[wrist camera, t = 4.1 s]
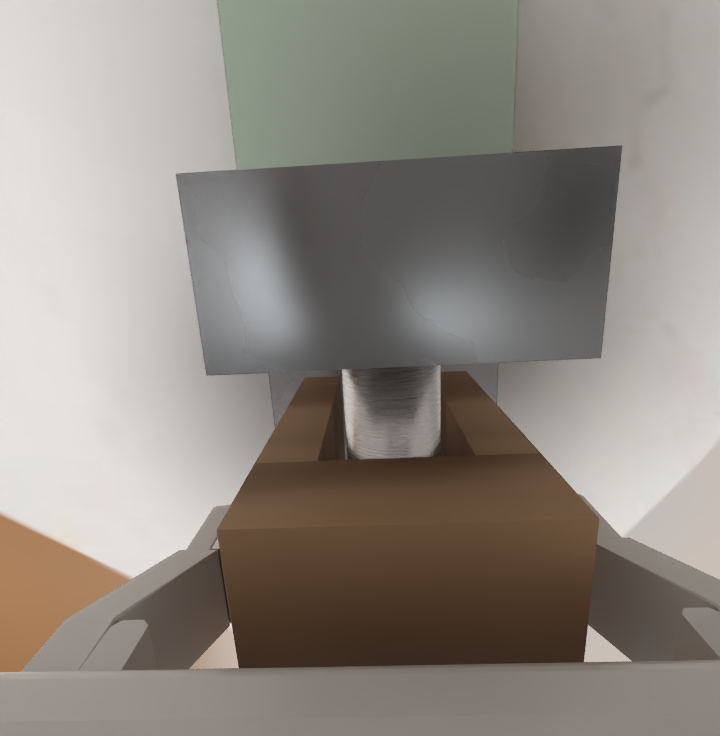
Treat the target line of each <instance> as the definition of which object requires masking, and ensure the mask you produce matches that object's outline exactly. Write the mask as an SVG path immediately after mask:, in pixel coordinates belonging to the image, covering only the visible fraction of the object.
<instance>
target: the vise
mask: <svg viewBox="0 0 720 736" xmlns="http://www.w3.org/2000/svg"><path fill="white" fill-rule="evenodd" d="M621 151H622V146H608V147H592V148H576V149H560V150H545V151H529V152H513V153H497V154H481V155H466V156H450V157H434V158H418V159H402V160H387V161H371V162H355V163H339V164H323V165H308V166H292V167H276V168H260V169H244V170H229V171H213V172H197V173H181V174H176V178H177V185H178V191H179V198H180V204H181V211H182V218H183V224H184V231H185V237H186V244H187V250H188V257H189V263H190V270H191V276H192V283H193V290H194V296H195V303H196V309H197V316H198V322H199V329H200V335H201V342H202V348H203V355H204V362H205V368H206V375H229V374H252V373H269V380H270V389H271V398H272V407H273V416H274V424H275V428H276V426H277V425H278V423H279V421H280V419H281V418H282V416H283V414H284V412H285V411H286V409H287V407H288V406H289V404H290V402H291V400H292V399H293V397H294V395H295V393H296V392H297V390H298V388H299V387H300V385H301V383H302V381H303V380H304V378H313V377H335V376H340V384H341V399H342V413H343V428H344V443H345V458H346V460H360V459H387V458H415V457H441V377H440V372H450V371H467V372H468V373H469V375H470V376H471V377H472V378H473V379H474V380H475V381H476V382H477V383H478V385H479V386H480V387H481V388H482V389H483V390H484V391H485V392H486V393H487V395H488V396H489V397H490V398H491V399H492V400H493V401H494V402H495V403H496V404H497V381H498V363H500V362H523V361H546V360H568V359H591V358H601V352H602V342H603V332H604V322H605V312H606V302H607V292H608V282H609V272H610V262H611V252H612V242H613V232H614V222H615V211H616V201H617V191H618V181H619V171H620V161H621Z"/></svg>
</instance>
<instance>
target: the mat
mask: <svg viewBox="0 0 720 736" xmlns="http://www.w3.org/2000/svg"><path fill="white" fill-rule="evenodd" d="M518 1H519V0H217V5H218V13H219V22H220V30H221V39H222V47H223V56H224V64H225V73H226V81H227V90H228V98H229V107H230V115H231V124H232V132H233V141H234V149H235V158H236V166H237V170H244V169H260V168H276V167H292V166H308V165H323V164H339V163H355V162H371V161H387V160H402V159H418V158H434V157H450V156H466V155H481V154H497V153H513V131H514V105H515V79H516V53H517V27H518Z"/></svg>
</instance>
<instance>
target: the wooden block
mask: <svg viewBox="0 0 720 736" xmlns="http://www.w3.org/2000/svg"><path fill="white" fill-rule="evenodd" d="M440 377H441V457H415V458H387V459H360V460H346V458H345V443H344V428H343V413H342V399H341V384H340V376H335V377H313V378H304V380H303V381H302V383H301V385H300V387H299V388H298V390H297V392H296V393H295V395H294V397H293V399H292V400H291V402H290V404H289V406H288V407H287V409H286V411H285V412H284V414H283V416H282V418H281V419H280V421H279V423H278V425H277V426H276V428H275V430H274V431H273V433H272V435H271V437H270V438H269V440H268V442H267V444H266V445H265V447H264V449H263V451H262V452H261V454H260V456H259V457H258V459H257V461H256V463H255V464H254V466H253V468H252V470H251V471H250V473H249V475H248V476H247V478H246V480H245V482H244V483H243V485H242V487H241V489H240V490H239V492H238V494H237V495H236V497H235V499H234V501H233V502H232V504H231V506H230V508H229V509H228V511H227V513H226V514H225V516H224V518H223V520H222V521H221V523H220V525H219V527H218V528H217V536H218V542H219V548H220V554H221V560H222V567H223V573H224V579H225V585H226V591H227V597H228V604H229V610H230V616H231V622H232V628H233V634H234V640H235V646H236V653H237V659H238V665H239V668H290V667H349V666H406V665H457V664H514V663H574V662H584V653H585V645H586V636H587V626H588V618H589V609H590V600H591V591H592V581H593V572H594V563H595V554H596V545H597V536H598V527H599V517H598V516H597V515H596V514H595V513H594V512H593V511H592V510H591V509H590V507H589V506H588V505H587V504H586V503H585V502H584V501H583V500H582V499H581V497H580V496H579V495H578V494H577V493H576V492H575V491H574V490H573V489H572V488H571V486H570V485H569V484H568V483H567V482H566V481H565V480H564V479H563V478H562V476H561V475H560V474H559V473H558V472H557V471H556V470H555V469H554V468H553V466H552V465H551V464H550V463H549V462H548V461H547V460H546V459H545V458H544V457H543V455H542V454H541V453H540V452H539V451H538V450H537V449H536V448H535V447H534V445H533V444H532V443H531V442H530V441H529V440H528V439H527V438H526V437H525V435H524V434H523V433H522V432H521V431H520V430H519V429H518V428H517V427H516V426H515V424H514V423H513V422H512V421H511V420H510V419H509V418H508V417H507V416H506V414H505V413H504V412H503V411H502V410H501V409H500V408H499V407H498V406H497V404H496V403H495V402H494V401H493V400H492V399H491V398H490V397H489V396H488V395H487V393H486V392H485V391H484V390H483V389H482V388H481V387H480V386H479V385H478V383H477V382H476V381H475V380H474V379H473V378H472V377H471V376H470V375H469V373H468V372H467V371H450V372H440Z"/></svg>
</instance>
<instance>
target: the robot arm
mask: <svg viewBox="0 0 720 736" xmlns="http://www.w3.org/2000/svg"><path fill="white" fill-rule="evenodd" d="M578 495H579V494H578ZM579 496H580V497H581V499H582V500H583V501H584V502H585V503H586V504H587V505H588V506H589V507H590V509H591V510H592V511H593V512H594V513H595V514H596V515H597V516H598V517H599V527H598V536H597V545H596V554H595V563H594V572H593V581H592V591H591V600H590V609H589V618H588V625H590V626H591V627H592V628H593V629H594V630H596V631H597V632H598V633H599V634H600V635H602V636H603V637H604V638H605V639H606V640H608V641H609V642H610V643H611V644H612V645H614V646H615V647H616V648H617V649H619V650H620V651H621V652H622V653H623V654H624V655H626V656H627V657H628V658H629V659H630V660H632V661H633V662H574V663H514V664H457V665H406V666H349V667H290V668H237V669H236V668H231V669H189V668H190V667H191V666H192V665H193V664H194V663H195V662H196V660H198V658H199V657H200V656H201V655H202V654H203V653H204V652H205V651H206V650H207V649H208V648H209V647H210V646H211V645H212V643H214V641H215V640H216V639H217V638H218V637H219V636H220V635H221V634H222V633H223V632H224V631H225V630H226V629H227V628H228V627H229V626H230V624H229V623H232V622H231V616H230V610H229V604H228V597H227V591H226V585H225V579H224V573H223V567H222V560H221V554H220V548H219V542H218V536H217V528H218V527H219V525H220V523H221V521H222V520H223V518H224V516H225V514H226V513H227V511H228V509H229V508H230V506H231V505H225V506H216V507H214V508H213V509H212V511H211V512H210V514H209V516H208V517H207V519H206V520H205V522H204V523H203V525H202V526H201V528H200V529H199V531H198V532H197V534H196V536H195V537H194V539H193V540H192V542H191V543H190V545H189V546H188V548H187V549H186V550H179V551H178V552H176V553H174V554H173V555H171V556H169V557H168V558H166V559H164V560H163V561H161V562H160V563H158V564H156V565H155V566H153V567H151V568H150V569H148V570H146V571H145V572H143V573H141V574H140V575H138V576H136V577H135V578H133V579H132V580H130V581H128V582H127V583H125V584H123V585H122V586H120V587H118V588H117V589H115V590H113V591H112V592H110V593H108V594H107V595H105V596H103V597H102V598H100V599H99V600H97V601H95V602H94V603H92V604H90V605H89V606H87V607H85V608H84V609H82V610H81V611H79V612H77V613H75V614H74V615H72V616H71V617H69V618H67V619H66V620H65V621H64V622H63V623H62V625H61V626H60V627H59V628H58V629H57V630H56V631H55V633H54V634H53V635H52V636H51V637H50V638H49V640H48V641H47V642H46V643H45V644H44V645H43V646H42V648H41V649H40V650H39V651H38V652H37V654H36V655H35V656H34V657H33V658H32V659H31V660H30V662H29V663H28V664H27V665H26V666H25V667H24V669H23V670H22V671H21V672H0V736H720V580H719V579H717V578H715V577H713V576H710V575H708V574H706V573H704V572H701V571H700V570H698V569H695V568H693V567H691V566H689V565H687V564H685V563H682V562H680V561H678V560H676V559H674V558H672V557H670V556H667V555H665V554H663V553H661V552H659V551H657V550H654V549H652V548H650V547H648V546H646V545H644V544H642V543H639V542H637V541H635V540H633V539H631V538H622V537H621V536H620V535H619V534H618V533H617V532H616V531H615V530H614V529H613V528H612V527H611V526H610V525H609V524H608V522H607V521H606V520H605V519H604V518H603V517H602V516H601V515H600V514H599V513H598V512H597V511H596V510H595V508H594V507H593V506H592V505H591V504H590V503H589V502H588V501H587V500H586V499H585V498H584V497H583V496H582V495H579Z"/></svg>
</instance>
